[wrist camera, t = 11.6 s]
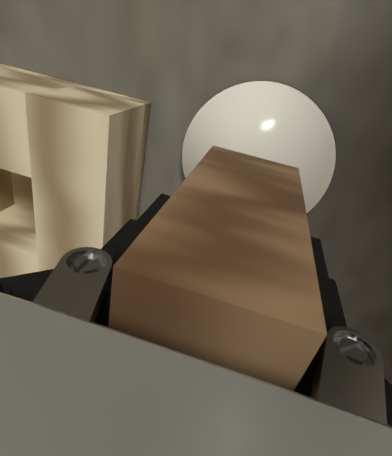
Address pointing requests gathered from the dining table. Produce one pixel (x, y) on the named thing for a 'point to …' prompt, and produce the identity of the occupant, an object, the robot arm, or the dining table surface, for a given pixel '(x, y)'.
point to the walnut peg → (227, 271)
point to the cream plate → (266, 132)
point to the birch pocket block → (64, 167)
